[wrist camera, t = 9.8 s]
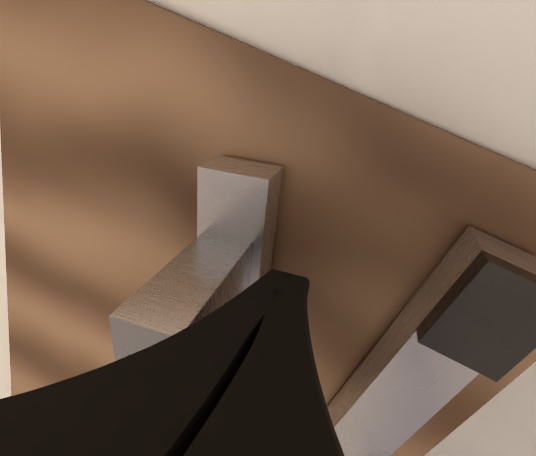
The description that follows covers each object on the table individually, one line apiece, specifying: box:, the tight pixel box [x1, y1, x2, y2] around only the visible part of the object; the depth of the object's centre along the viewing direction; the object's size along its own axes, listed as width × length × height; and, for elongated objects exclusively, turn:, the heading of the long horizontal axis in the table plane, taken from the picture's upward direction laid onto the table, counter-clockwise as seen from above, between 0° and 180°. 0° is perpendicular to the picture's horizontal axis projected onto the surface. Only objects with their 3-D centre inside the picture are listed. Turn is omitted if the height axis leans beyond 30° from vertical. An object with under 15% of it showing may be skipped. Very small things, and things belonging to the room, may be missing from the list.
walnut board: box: [0, 0, 536, 456], centre depth 17 cm, size 28×22×1 cm
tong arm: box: [109, 155, 283, 361], centre depth 12 cm, size 18×2×6 cm, turn 174°
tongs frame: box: [327, 226, 536, 456], centre depth 15 cm, size 24×5×2 cm, turn 159°
